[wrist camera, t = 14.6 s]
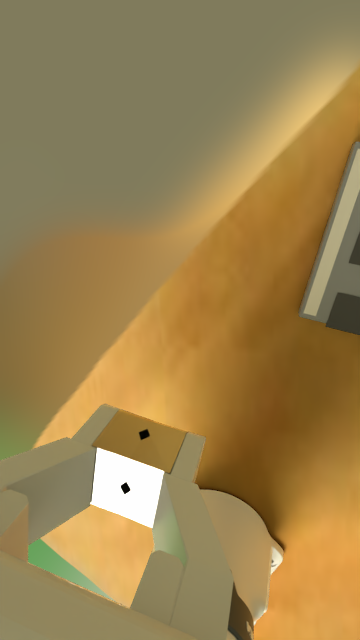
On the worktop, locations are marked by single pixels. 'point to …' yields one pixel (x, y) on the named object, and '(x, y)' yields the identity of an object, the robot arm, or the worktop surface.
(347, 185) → the panel
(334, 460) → the worktop surface
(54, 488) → the robot arm
